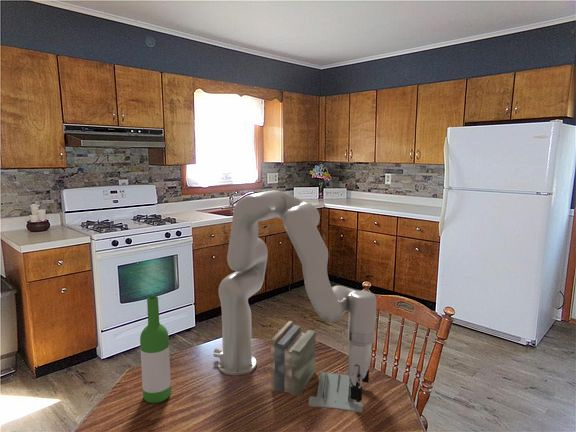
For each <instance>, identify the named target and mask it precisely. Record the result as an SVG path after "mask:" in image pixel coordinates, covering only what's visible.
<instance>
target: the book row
mask: <svg viewBox="0 0 576 432" xmlns="http://www.w3.org/2000/svg"><path fill="white" fill-rule="evenodd" d="M301 327H302V326H301V325H297V324H294V321H293V320H292V321H291V320H289V321H288V322H286V324H284V326H283V327H282V328H280V330H279V331H278V332H277V333H276V334H275V335H274V336H273V337H272V338H271V339H270V390H271V391H277V392H280V393H284V392H285V393H288V394H291V396H294V397H298V398H300V396H301V395H302V393H303V392H304V390H305V389H306V387H307V385H308V384H309V382H310V381H311V379H312V378H313V376H314V374H315V373H316V337H317V336H316V331H315V330H312V329H311V330H310V329H308V330H307V331H306V332H305V333H304V332H302V329H301Z"/></svg>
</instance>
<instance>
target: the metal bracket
mask: <svg viewBox="0 0 576 432" xmlns="http://www.w3.org/2000/svg"><path fill="white" fill-rule="evenodd" d="M337 372H338V373H331V372H327V371H325V372H320V375H319V379H318V387H317V393H316V396H309V398H308V406H309V407H314V408H315V407H316V408H327V409H334V410H344V411H349V412H353V413H363V411H364V409H363V408H364V406H363V405H364V404H363V402H361V401H357V400H354V399H351V398H350V386H351V380H352V376H348V374H341V373H340V370H338V371H337Z"/></svg>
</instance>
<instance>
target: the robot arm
mask: <svg viewBox="0 0 576 432" xmlns="http://www.w3.org/2000/svg"><path fill="white" fill-rule="evenodd" d="M320 216H321V215H320V212H319V210H318V209H317V208H316V206H314V205H313V204H312V203H310V202H308V201H305V200H303V199H302V198H301V199H300V198H298V197H296V196H294V195H292V194H289V193H287V192H284V191H281V190H276V189H275V190H268V191H262V192H257V193H253V194H252V193H251V194H249V195H246V196H244V197H242V198H241V199H239V200H238V201H237V202H236V204H235V206H234V208H233V212H232V219H231V220H232V222H231V230H230V235H229V236H230V237H229V243H228V249H227V256H226V260H227V266H228V267H229V268H230V269H231V270H232V271H234V272H232V273H230V274H228V275H226V276H225V277H224V278H223V279H222V280H221V282H220V284H219V286H218V297H219V301H220V307H221V324H222V327H221V328H222V332H221V333H222V348H220V347H219V348H218V347H214V350H213V357H214V358H218V359H219V361H218V364H217V365H218V369H219V371H220V372H222V373H223V374H224V375H227V376H228V375H229V376H242V375H247V374H249V373H251V372H253V371H254V370H255V369H256V367H257V358H255V357H254V356H253V354H252V353H253V351H252V350H253V349H252V348H253V347H252V342H253V341H252V339H253V338H252V337H253V336H252V328H253V327H252V311H251V310H252V309H251V307H250V304H249V298H251V297H252V296H253V295H255V294H256V293H258V292H259V291H260V289H262V286H263V284H264V281H265V274H266V269H267V265H268V264H267V263H268V255H269V253H268V251H269V250H268V247H267V244H266V243H265V241H264V240H263V239H262V238H260V237H258V236H259V233H260V232H259V230H260V229H259V224H258V223H259V222H264V221H267V220H272V219H274V218H278V219H281V220H282V223H283V227H284V229H285V231H286V234H287V236H288V238H289V239H290V242H291V243H292V245H293V247H294V250H295V252H296V254H297V256H298V259H299V260H300V263H301V266H302V269H301V270H302V276H303V281H304V287H305V290H306V293H307V296H308V298H309V300H310V303H311V305H312V307H313V308H314V310H315V312H316V313H317V315H318V316H319V317H320V318H321V319H322V320H324V321H325V322H329V323H333V322H336V321H338V320H339V319H341V318H342V316H344V314H345V313H348V327H347V329H348V331H347V339H348V341H349V351H348V359H347V360H348V363H347V375H348V376H352V380H351V386H350V398H351V399H354V400H356V401H357V402H362V400H363V387H362V383H369V381H370V377H369V376H370V369H369V368H370V365H371V356H372V344H374V343H375V342H376V320H377V319H376V317H377V316H376V315H377V297H376V295H375V294H374V293H373V292H371V291H368V290H356V289H353V288H351V287H350V288H349V287H347V286H345V285H334V286H332V285H331V282H330V280H329V275H328V261H329V249H328V247H327V245H326V243H325V242H324V240H323V237H322V235H321V234H320V231H319V229H318V226H319V223H320V222H321V221H320V219H321V217H320Z"/></svg>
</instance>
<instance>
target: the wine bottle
mask: <svg viewBox="0 0 576 432" xmlns="http://www.w3.org/2000/svg"><path fill="white" fill-rule="evenodd" d="M146 302H147V306H146V307H147V325H146V326H145V327H144V328H143V329H142V331H141V333H140V337H139V342H140V343H139V344H140V365H141V366H140V368H141V385H142V387H141V388H142V397H143V399H144V401H146V402H148V403H150V404H156V403H158V404H159V403H161V402H163V401H166V400H167V399H168V398H169V397H170V396H171V392H172V386H171V384H172V382H171V363H170V361H171V360H170V356H171V355H170V341H169V339H170V338H169V336H170V335H169V331H168V330H167V328H166V327H165V326H164V325H163V324H162V323H161V322H160V313H159V312H160V310H159V297H158V295H157V296H156V295H151V296H150V295H149V296H148V297H147V298H146Z"/></svg>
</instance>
